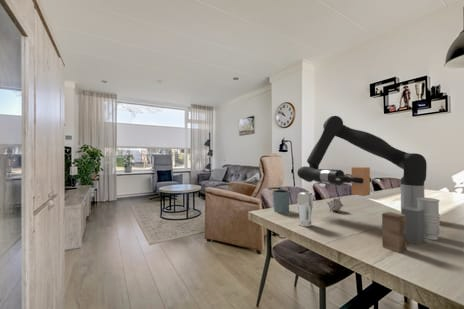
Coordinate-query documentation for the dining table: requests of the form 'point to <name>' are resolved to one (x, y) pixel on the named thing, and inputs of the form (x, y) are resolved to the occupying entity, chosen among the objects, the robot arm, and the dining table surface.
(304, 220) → the beer glass
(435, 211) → the grey ribbed canister
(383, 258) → the dining table surface
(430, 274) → the dining table surface
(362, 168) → the orange block
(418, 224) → the grey block
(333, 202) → the game die
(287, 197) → the grey-green cup
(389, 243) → the walnut block
